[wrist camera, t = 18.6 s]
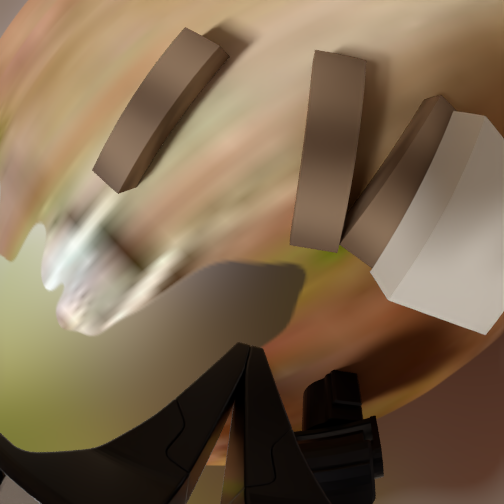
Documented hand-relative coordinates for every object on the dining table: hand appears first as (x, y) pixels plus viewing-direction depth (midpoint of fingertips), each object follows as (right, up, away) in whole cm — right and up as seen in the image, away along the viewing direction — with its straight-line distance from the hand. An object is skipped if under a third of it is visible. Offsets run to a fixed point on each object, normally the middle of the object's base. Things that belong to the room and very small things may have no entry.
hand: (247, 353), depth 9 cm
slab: (+16, +5, +7) cm, 18 cm away
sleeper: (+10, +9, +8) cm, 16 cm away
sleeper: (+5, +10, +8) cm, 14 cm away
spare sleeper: (-6, +13, +9) cm, 17 cm away
